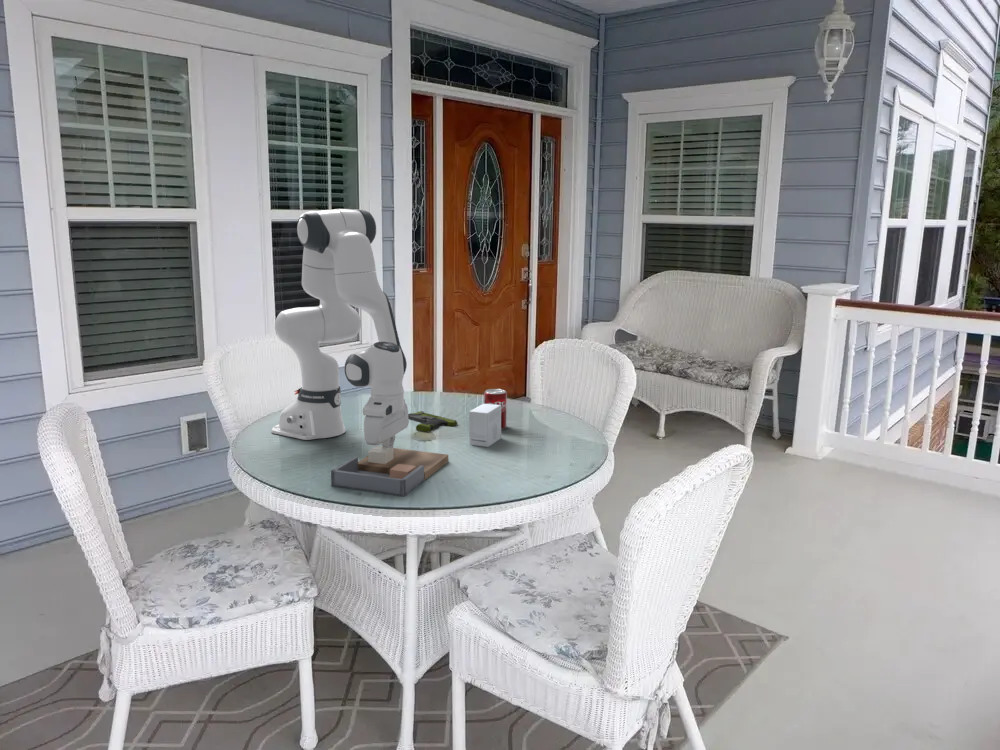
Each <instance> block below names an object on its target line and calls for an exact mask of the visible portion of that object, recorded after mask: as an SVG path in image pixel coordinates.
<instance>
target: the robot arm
mask: <svg viewBox="0 0 1000 750" xmlns="http://www.w3.org/2000/svg"><path fill="white" fill-rule="evenodd" d="M296 223H297V224H296V232H297V233H296V234H297V238H298V240H299V243H300V244H301V245H302V246H303V250H302V251H303V253H302V267H301V287H302V288H303V291H304V292H305V293H306V294H307V295H309V296H310V297H313V298H315V299H317V300H319V305H317V306H303V307H302V306H301V307H293V308H289V309H288V308H287V309H285V310H281V311H280V312H279V313H278V315H277V316H276V318H275V321H274V330H275V334H276V336H277V338H278V339H279V341H281V342H282V343H283V344H284V345H287V347H289V348H290V349H291V350H292V352H294V354H295V355H296V357H297V359H298V362H299V366H300V367H299V368H300V373H301V387H299V388H298V389H296V390H294V392H295V393H294V395H297V398H296V399H295V400H294V401H293V402H292V403H290V404H289V405H288V406H286V408H284V409H283V410H282V411H281V412H280V414H279V418H278V419H279V421H278V424H276V425H274V426H273V427H272V429H271V433H272V434H275V435H280V436H285V437H290V438H293V439H294V438H295V439H298V440H304V441H310V440H316V439H326V438H334V437H337V436H341V435H343V434H344V433H346V427H345V424H344V420H343V415H342V410H341V404H342V403H341V402H342V391H341V389H342V388H341V386H340V371H339V364H338V361H337V359H336V358H335V357H333V356H331V355H329V354H327V353H325V352H322V351H321V349H320V344H323V343H326V344H327V343H337V342H338V343H340V342H343V341H348V340H351V339H354V338H356V337H357V335H358V334H359V333H360V330H361V326H362V321H361V316H360V314H359V313H358V311H357V310H356V309H360V310H362V311H363V312H366V313H367V314H368V315H370V317H371V319H372V320H373V323H374V327H375V331H376V336H377V339H378V341H377V342H374V343H373V344H372V345H371V346H370V347H368V348H366V349H365V350H360V351H358V352H354V353H350V355H348V356H347V358H346V359H345V363H344V374H345V377H346V380H347V381H348V383H350V384H351V385H352V386H354V387H359V388H365V387H369V388H370V397H369V398H368V400H367V402H366V403H365V405H364V406H363V407H362V415H363V416H365V417H364V419H363V435H364V441H365V443H366V444H367V445H369V446H370V445H371V446H380V445H382V446H381V447H389V448H394V445H395V444H394V443H395V441H396V435H397V434H399V433H401V432H402V431H403V430H405V429H407V428H408V427H409V423H410V419H409V418H408V414H409V409H408V408H409V407H408V404H407V403H406V400H405V389H404V386H403V381H404V375H405V374H406V371H407V359H406V356H405V353H404V350H403V349H402V346H401V342H400V338H399V334H398V331H397V325H396V321H395V318H394V312H393V309H392V306H391V302H390V299H389V296H388V295H387V294H386V292H384V291H383V289H382V288H381V286H380V283H379V280H378V277H377V269H376V268H377V267H376V263H375V262H376V261H375V256H374V252H373V248H372V245H371V244H372V243H373V242H374V240H375V238H376V235H377V224H376V220H375V218H374V216H373V215H372V214H371V213H370V212H369V211H367V210H363V209H359V208H357V209H356V208H355V209H351V208H350V209H349V208H334V209H325V210H318V211H316V210H310V211H306V212H304V213H302V214H301V215H300V216H299V218H298V220H297V222H296ZM355 308H356V309H355Z"/></svg>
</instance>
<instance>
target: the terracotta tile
mask: <svg viewBox="0 0 1000 750" xmlns="http://www.w3.org/2000/svg"><path fill="white" fill-rule="evenodd" d="M415 469H416V466H412V465H404V464H397V465H396V466H394V467H393V468H391V469H390V477H391V478H398V479H403V478H404V477H405V476H407V475H408V474H409V473H411V472H412V471H413V470H415Z"/></svg>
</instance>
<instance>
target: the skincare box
mask: <svg viewBox="0 0 1000 750" xmlns="http://www.w3.org/2000/svg"><path fill="white" fill-rule="evenodd" d="M468 415H469V416H468V419H469V426H468V427H469V428H468V429H469V430H468V431H469V432H468V433H469V445H470V446H478V447H484V448H485V447H486V448H489V447H490V446H492V445H493V444H495V443H496V442H498V441H499V440H500V439H501V438H502V430H501V405H493V404H484V403H482V404H480V405H479V406H477V407H475V408H473V409H471V410H469V412H468Z"/></svg>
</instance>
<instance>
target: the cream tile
mask: <svg viewBox="0 0 1000 750" xmlns="http://www.w3.org/2000/svg"><path fill="white" fill-rule="evenodd" d="M393 448H394V447H393ZM393 448H389V447H383V446H380V445H375V446H374V447H373V448H371V449H369V450H368V451H367V456H368V462H372V463H380V464H386V463H388V462H389V461H391V460H392V459H394V458H393Z"/></svg>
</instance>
